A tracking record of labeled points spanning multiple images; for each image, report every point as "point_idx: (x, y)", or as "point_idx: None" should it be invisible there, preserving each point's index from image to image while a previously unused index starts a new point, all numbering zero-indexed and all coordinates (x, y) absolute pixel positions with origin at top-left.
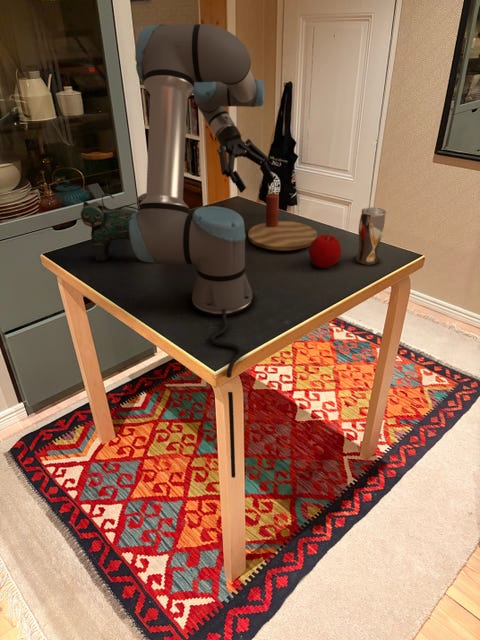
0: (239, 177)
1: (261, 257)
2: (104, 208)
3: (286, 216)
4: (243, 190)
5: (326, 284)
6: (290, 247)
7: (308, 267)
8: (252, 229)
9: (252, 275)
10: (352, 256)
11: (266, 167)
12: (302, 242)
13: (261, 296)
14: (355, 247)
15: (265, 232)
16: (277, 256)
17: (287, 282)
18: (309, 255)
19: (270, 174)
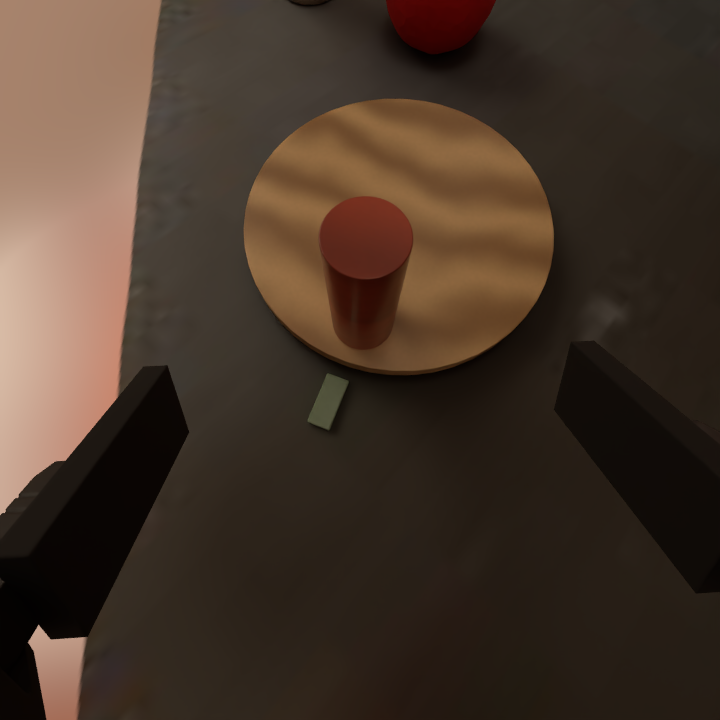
0: (665, 417)
1: (565, 185)
2: None
3: None
4: (565, 382)
5: None
6: (470, 119)
7: (484, 51)
8: (478, 340)
9: (670, 115)
10: (315, 20)
11: (75, 482)
12: (406, 113)
13: (714, 24)
14: (246, 49)
15: (453, 273)
16: None
17: (603, 31)
18: (486, 18)
19: (136, 404)
